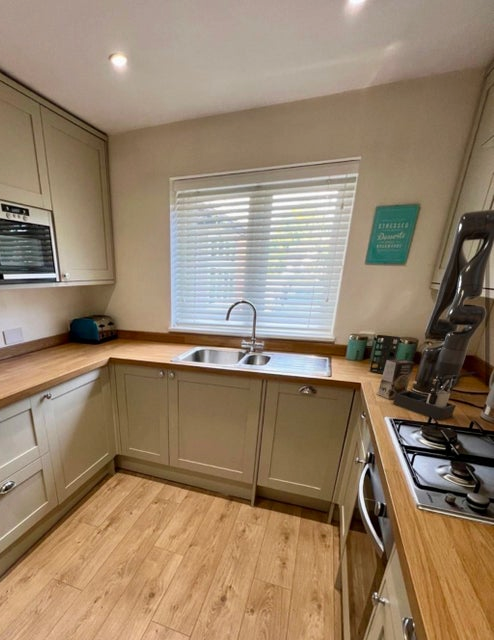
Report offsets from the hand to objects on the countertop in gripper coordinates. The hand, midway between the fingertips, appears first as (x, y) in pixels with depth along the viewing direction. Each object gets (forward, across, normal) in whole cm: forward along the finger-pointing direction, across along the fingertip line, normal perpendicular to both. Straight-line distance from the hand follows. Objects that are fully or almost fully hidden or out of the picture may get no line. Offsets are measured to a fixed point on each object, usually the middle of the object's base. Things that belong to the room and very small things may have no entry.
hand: (436, 402), depth 128 cm
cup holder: (+5, 0, +4) cm, 6 cm away
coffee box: (+5, +4, +19) cm, 20 cm away
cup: (+4, 0, 0) cm, 4 cm away
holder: (+5, +36, +45) cm, 58 cm away
